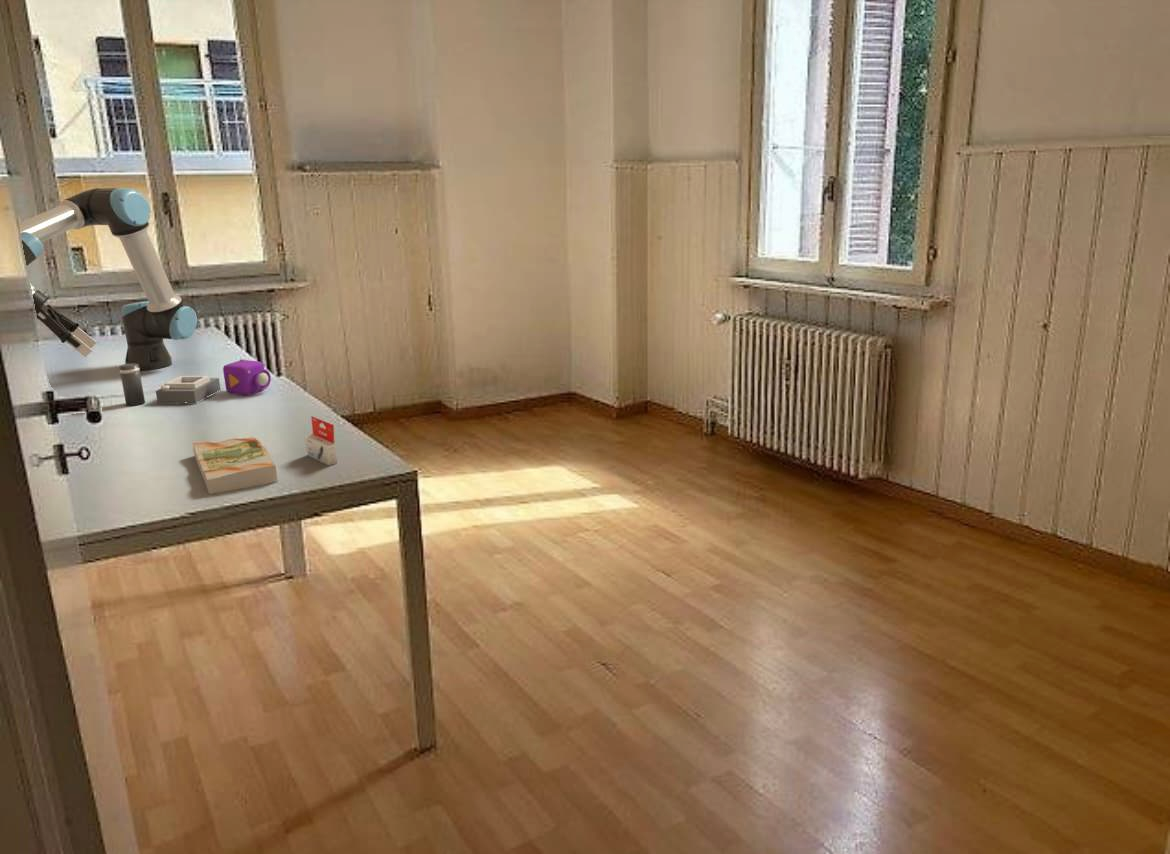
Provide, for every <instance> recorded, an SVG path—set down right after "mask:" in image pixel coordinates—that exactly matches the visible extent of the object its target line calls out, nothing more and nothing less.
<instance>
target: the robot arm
mask: <svg viewBox="0 0 1170 854" xmlns="http://www.w3.org/2000/svg"><path fill="white" fill-rule="evenodd" d="M151 211H152V210H151V206H150V204H149V201H148V199H147V198H146V196H144V195H143V194H142V193H141V192H140V191H138V190H135V189H133V188H126V187H115V188H114V187H113V188H109V187H108V188H107V187H105V188H100V187H99V188H92V189H91V188H90V189H87V190H84V191H82V192H79V193H77V194H75V195H72V196H70V197H68V198H65V199H62V200H61V201H60V202H59V203H58V204H57V206H55V207H54V208H50V209H49V210H46V211H44V212H42V213H39V214H37V215H35V216H33V217H30V218H27V219H25V220H22V221H21V222H18V223H19V226H20V234H21V239H22V244H23V250H24V255H25V260H26V265H27V267H28V266H29V265H31V263H32V262H33V263H34V261H36V260H37V259H38V257H39V256H40V255H41V254H42V253H43V251H44V246H43V245H44V244H43V243H44V242H45V241H48V240H50V239H52V238H55V237H57V236H60V235H62V234H64V233H66V232H69V231H70V230H72V229H73V230H80V229H83V228H85V227H89V226H90V227H91V226H108V228H109V230H110V233H111V235H112V236H113V237H115V238H118V239H119V240H120V242H121V244H122V247H123V249H124V251H125V254H126V256H127V258H128V259H129V262H130V264H131V266H132V268H133V271H134V272H135V275H136V277H137V279H138V282H139V284H140V286H141V288H142V290H143V293H144V294H145V297H146V299H147V300H146V301H138V302H133V303H128V304H124V305H123V306H122V307H121V319H122V324H123V328H124V333H125V339H126V344H127V345H126V346H127V351H126V354H125V360H124V364H131V363H136V364H139V369H140V371H149V370H150V371H151V370H156V369H161V368H163V369H164V368H166V367H169V366H172V364H173V361H172V356H171V354H170V353H169V351H168V349H167V347H166V345H165V344H164V340H174V341H180V340H187V339H189V338H190V337H192V336H193V334H194V333H195V331H196V329H197V325H198V317H197V314H196V311H195V310H194V309H193V308H192V307H190V306H188V305H185V303H184V302H183V299H182V297H181V296H179V295H177V294H175V292H174V290H173V287H172V285H171V283H170V281H169V278H168V277H167V274H166V272H165V269H164V267H163V264H162V262H161V259H160V258H159V255H158V253H157V251H156V249H155V247H154V244H153V242H152V238H150V236H149V233H148V229H149V227H150V223H149V220H150V219H151V214H150V213H151ZM30 285H31V289H32V294H33V299H34V304H35V310H36V313H35V314H36V315H35V317H36V316H37V318H36V319H38V320H39V321H40V322H41V323H42V324H44V325H45V326H46V327H47V328H48V329H49V330H50V331H51V332H52V333H53V334H54V335H55V336H57V338H58V339H59V341H60V342H61V343H62V344H65V343H67V344H68V345H69V346H71V348H73V349H74V350H76V351H77V352H78V353H79V354H81V355H82V356H83V357H85V358H87V356H89V355H90V354H91V353H92V352H93V351H94V350H93V346H96V344H97V343H98V342H97V341H96V340H95V339H94V338H92V337H91V336H90V335H89V334H88V333H86V332H85V331H84V330H82V329H81V328H80V323H78V322H74V321H73V320H72V319H70V318H69V317H67V316H66V315H64V314H63V313H61V312H60V311H58V310H57V309H55V308H54V307H53V306H52V305H51V304H47V305H46V302H48V300H49V297H48V296H46V295H45V294H44V293H43V292H42V291H41V290H37V289H36V286H35V285H34V284H32V283H31V282H30Z"/></svg>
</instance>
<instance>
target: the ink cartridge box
mask: <svg viewBox="0 0 1170 854" xmlns="http://www.w3.org/2000/svg"><path fill="white" fill-rule="evenodd" d="M321 424H322V425H323V426H324V427H325V428H324V427H321ZM311 428H312V434H308V435H305V436H304V438H305V446H306V454H307V456H309V457H310V458H313V459H315V460H317V461H319V462H321V463H323V464H325V465H328V466H331V465H335V464H338V457H337V451H336V450H337V449H336V443H335V425H334V424H333V423H331V422H330V423H329V422H327V421H325V420H322V419H320V418H317V417H316V416H311Z"/></svg>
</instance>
